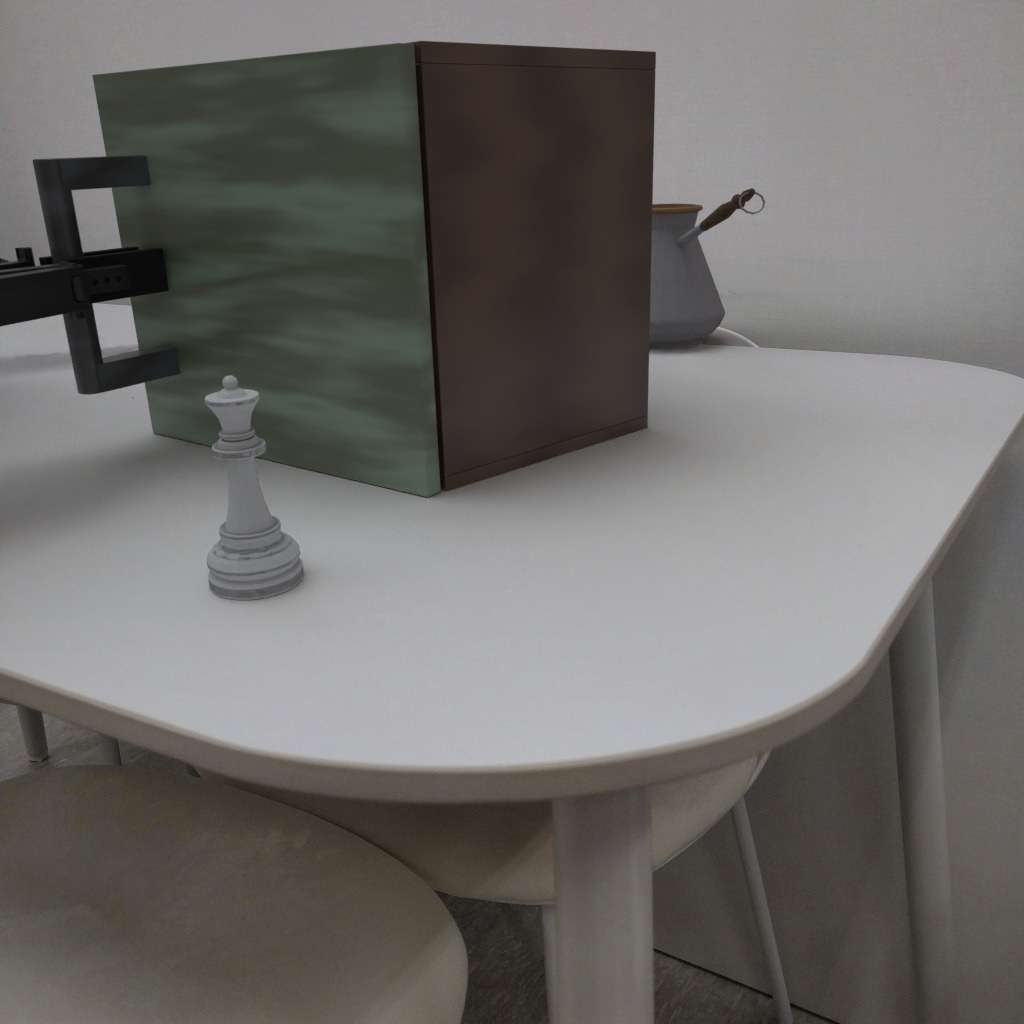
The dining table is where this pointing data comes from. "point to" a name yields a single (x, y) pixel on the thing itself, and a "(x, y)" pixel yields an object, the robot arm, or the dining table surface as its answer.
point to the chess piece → (247, 510)
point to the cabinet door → (270, 254)
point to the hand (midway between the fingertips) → (149, 268)
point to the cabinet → (535, 248)
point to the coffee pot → (685, 274)
